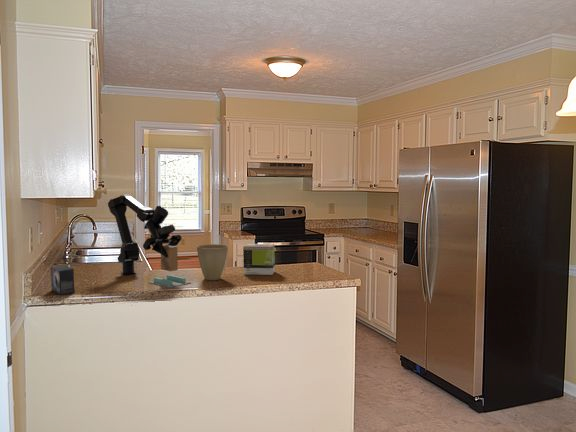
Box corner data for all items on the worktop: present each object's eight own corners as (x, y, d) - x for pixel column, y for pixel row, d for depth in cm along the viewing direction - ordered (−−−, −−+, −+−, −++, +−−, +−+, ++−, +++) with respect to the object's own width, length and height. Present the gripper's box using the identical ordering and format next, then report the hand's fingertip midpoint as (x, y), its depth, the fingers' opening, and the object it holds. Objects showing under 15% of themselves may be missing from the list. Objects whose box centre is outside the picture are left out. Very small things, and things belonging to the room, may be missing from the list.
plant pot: (233, 279, 236) (233, 246, 234) (207, 283, 226) (207, 249, 224) (217, 274, 247) (217, 243, 245) (191, 278, 237) (190, 245, 236)
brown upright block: (161, 269, 226) (160, 246, 225) (168, 268, 230) (167, 245, 229) (170, 271, 222) (170, 247, 221) (177, 270, 225) (177, 246, 224)
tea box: (274, 271, 255) (275, 243, 253) (272, 275, 245) (272, 246, 243) (246, 270, 256) (246, 243, 255) (243, 274, 246) (243, 245, 245)
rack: (148, 282, 227) (148, 277, 226) (169, 278, 236) (169, 273, 236) (170, 287, 217) (170, 282, 217) (190, 283, 226) (190, 278, 226)
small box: (50, 290, 210) (49, 266, 209) (65, 288, 215) (65, 264, 214) (59, 295, 202) (58, 270, 202) (75, 292, 207) (74, 268, 206)
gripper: (146, 220, 219) (161, 247, 213) (179, 217, 233) (194, 242, 228) (136, 236, 224) (151, 262, 219) (169, 232, 239) (183, 257, 233)
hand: (170, 256), depth 224 cm, fingers closed on brown upright block, 4 cm apart
